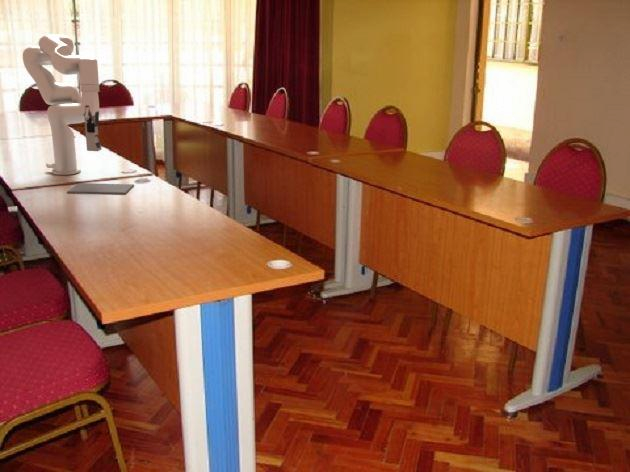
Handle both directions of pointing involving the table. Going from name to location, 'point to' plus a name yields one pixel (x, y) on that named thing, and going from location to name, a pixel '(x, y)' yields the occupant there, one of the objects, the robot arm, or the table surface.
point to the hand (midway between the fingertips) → (92, 130)
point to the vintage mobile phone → (93, 135)
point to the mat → (101, 188)
